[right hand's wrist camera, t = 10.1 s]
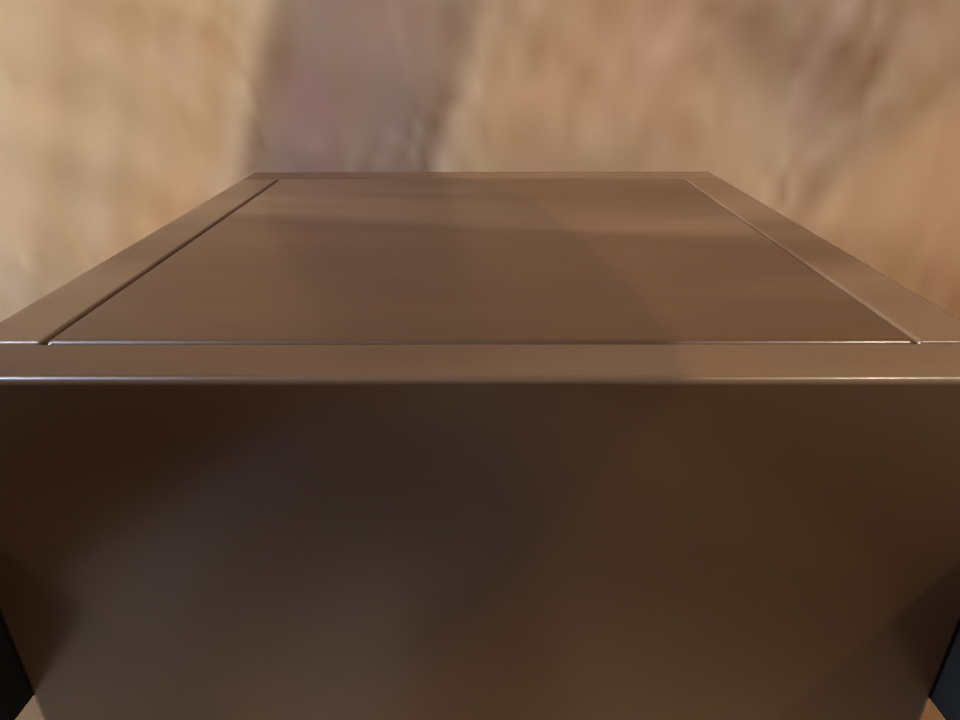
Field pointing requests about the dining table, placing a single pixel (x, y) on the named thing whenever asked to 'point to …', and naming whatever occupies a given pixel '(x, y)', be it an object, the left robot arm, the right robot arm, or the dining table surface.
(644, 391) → the cabinet
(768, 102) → the dining table surface
